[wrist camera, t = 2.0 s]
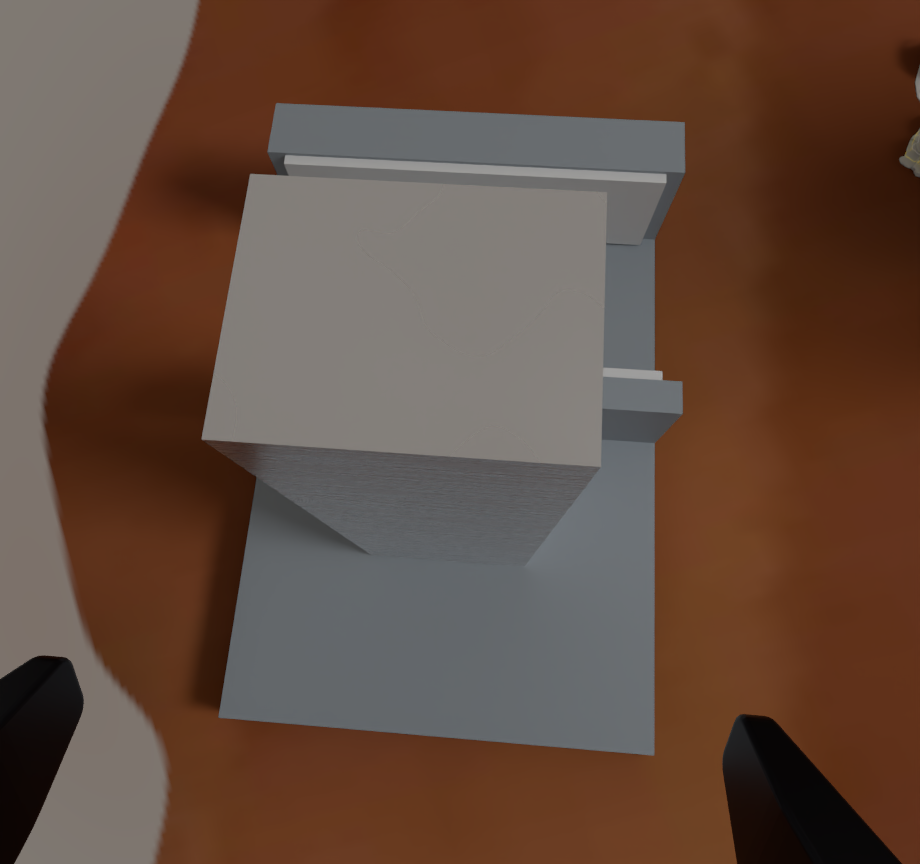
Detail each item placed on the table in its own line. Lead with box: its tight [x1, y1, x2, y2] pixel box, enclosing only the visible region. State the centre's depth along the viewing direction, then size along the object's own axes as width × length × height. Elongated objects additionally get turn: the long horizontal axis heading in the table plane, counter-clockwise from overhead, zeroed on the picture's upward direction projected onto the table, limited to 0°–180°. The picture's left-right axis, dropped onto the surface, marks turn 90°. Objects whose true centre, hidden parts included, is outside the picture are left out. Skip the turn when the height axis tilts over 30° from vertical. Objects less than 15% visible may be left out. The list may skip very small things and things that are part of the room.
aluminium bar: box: [201, 174, 607, 567], centre depth 14 cm, size 4×4×13 cm
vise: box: [218, 103, 685, 755], centre depth 20 cm, size 18×12×4 cm, turn 176°
